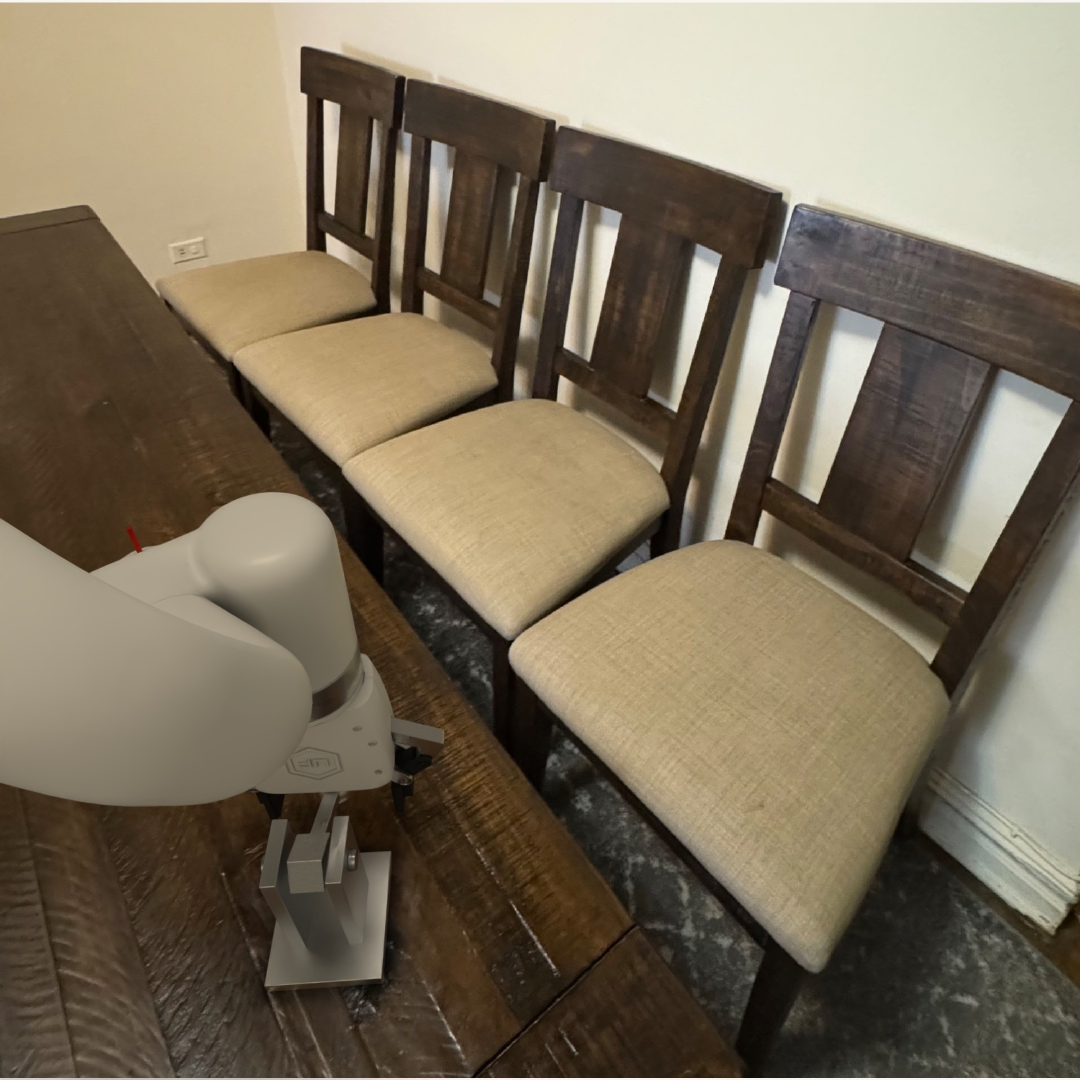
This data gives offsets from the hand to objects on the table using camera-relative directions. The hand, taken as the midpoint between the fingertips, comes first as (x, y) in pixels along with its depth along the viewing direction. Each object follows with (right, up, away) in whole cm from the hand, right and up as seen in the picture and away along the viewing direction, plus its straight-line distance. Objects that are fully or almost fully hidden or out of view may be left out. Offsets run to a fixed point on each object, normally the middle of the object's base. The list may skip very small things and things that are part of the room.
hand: (340, 798), depth 59 cm
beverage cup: (-20, +11, +15) cm, 28 cm away
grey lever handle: (+1, -1, -6) cm, 6 cm away
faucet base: (+1, -8, -4) cm, 9 cm away
